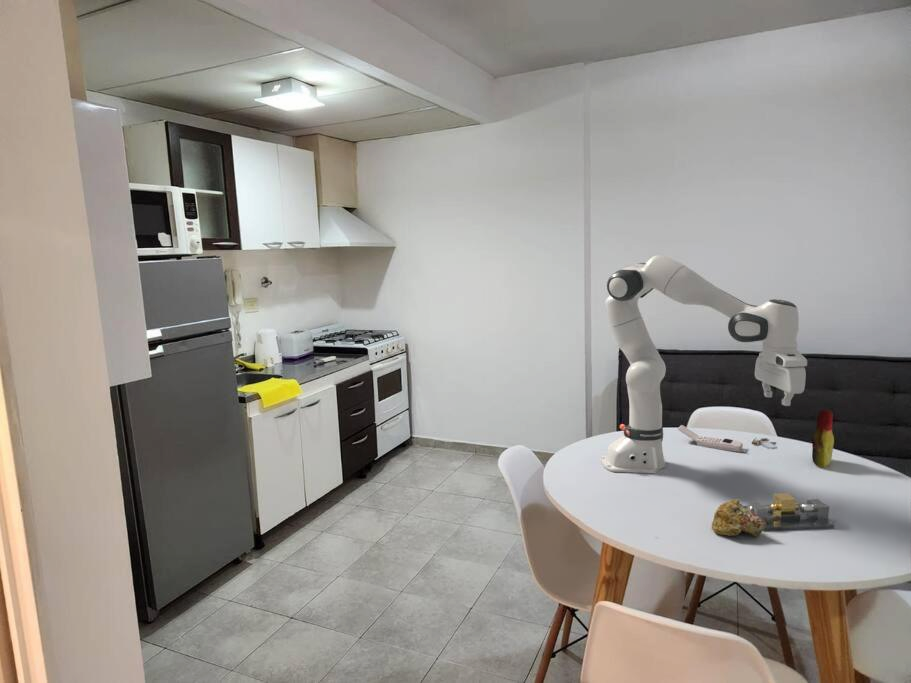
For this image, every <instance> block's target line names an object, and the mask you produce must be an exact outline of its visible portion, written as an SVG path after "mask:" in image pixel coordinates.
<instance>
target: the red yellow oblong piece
mask: <svg viewBox="0 0 911 683" xmlns="http://www.w3.org/2000/svg"><path fill="white" fill-rule="evenodd" d="M833 417H834V413H833V412H832V411H831V410H830V409H828V408H821V409H820V410H819V411H818V416H817V419H816V420H817V421H816V431H814V434H813V436H812V443H811V444H812V446H811V448H812V453H811V459H812V462H813V464H814V465H815V466H816V467H818V468H825V467H827V466H829V465H830V463H831V461H832V457H833V451H834V445H835V438H834V437H835V436H834V434H833V419H834V418H833Z"/></svg>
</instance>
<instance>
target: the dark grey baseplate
mask: <svg viewBox="0 0 911 683" xmlns="http://www.w3.org/2000/svg"><path fill="white" fill-rule="evenodd" d="M797 504H798V506H799V509H798V510H795V514H787V515H781V518H780V517H778V516H777V515H776V514H775V513H774V512H773V508H772V506H770V505H771V504H762V502H760V501H759V500H754V501H753V500H751V501H749V500H748V501H747V505H742V506H743V507H744V508H745V509H748V510H751V511H752V512H754V514H755V515H757V516H758V517H759V518H761V519H763V520H764V521H765V523H766V527H765V529H764V530H763V531H786V530H788V531H789V530H790V531H791V530H816V529H834V528H835V524H834V523H832V522H831V521H830V520H829V517H830V516H829V514H830V506H829V505H827V504H826V503H824V502H823V501H821V500H820V499H819V498H807V499H806V503H797ZM763 531H762V532H763Z"/></svg>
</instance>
